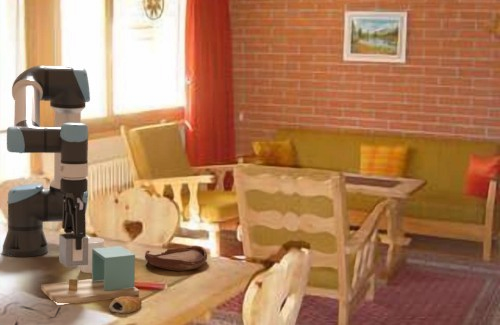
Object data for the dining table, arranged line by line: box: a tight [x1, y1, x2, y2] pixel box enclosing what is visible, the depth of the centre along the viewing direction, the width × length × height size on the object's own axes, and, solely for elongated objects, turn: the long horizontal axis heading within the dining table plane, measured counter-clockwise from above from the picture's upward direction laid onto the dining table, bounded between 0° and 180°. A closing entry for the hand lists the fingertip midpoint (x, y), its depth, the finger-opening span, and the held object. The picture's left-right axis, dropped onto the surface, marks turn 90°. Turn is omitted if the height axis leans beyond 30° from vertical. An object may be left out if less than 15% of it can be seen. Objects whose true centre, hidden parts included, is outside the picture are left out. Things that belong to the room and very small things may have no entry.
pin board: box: [40, 277, 140, 304], centre depth 223 cm, size 16×24×4 cm, turn 121°
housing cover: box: [91, 245, 136, 291], centre depth 226 cm, size 11×9×10 cm
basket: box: [144, 245, 208, 272], centre depth 258 cm, size 22×20×5 cm
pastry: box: [108, 296, 143, 315], centre depth 210 cm, size 9×7×4 cm
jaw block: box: [58, 233, 89, 268], centre depth 218 cm, size 6×6×8 cm
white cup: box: [80, 236, 105, 274], centre depth 245 cm, size 8×8×10 cm
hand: (73, 257), depth 219 cm, fingers closed on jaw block, 6 cm apart
